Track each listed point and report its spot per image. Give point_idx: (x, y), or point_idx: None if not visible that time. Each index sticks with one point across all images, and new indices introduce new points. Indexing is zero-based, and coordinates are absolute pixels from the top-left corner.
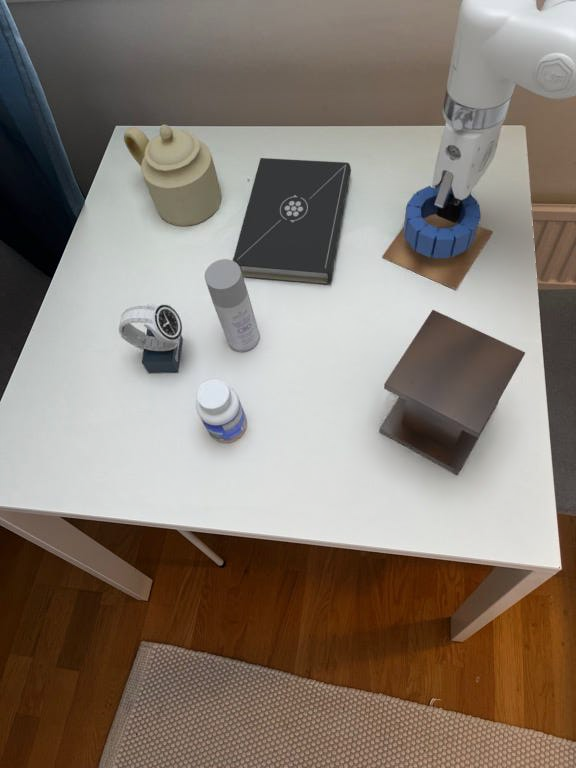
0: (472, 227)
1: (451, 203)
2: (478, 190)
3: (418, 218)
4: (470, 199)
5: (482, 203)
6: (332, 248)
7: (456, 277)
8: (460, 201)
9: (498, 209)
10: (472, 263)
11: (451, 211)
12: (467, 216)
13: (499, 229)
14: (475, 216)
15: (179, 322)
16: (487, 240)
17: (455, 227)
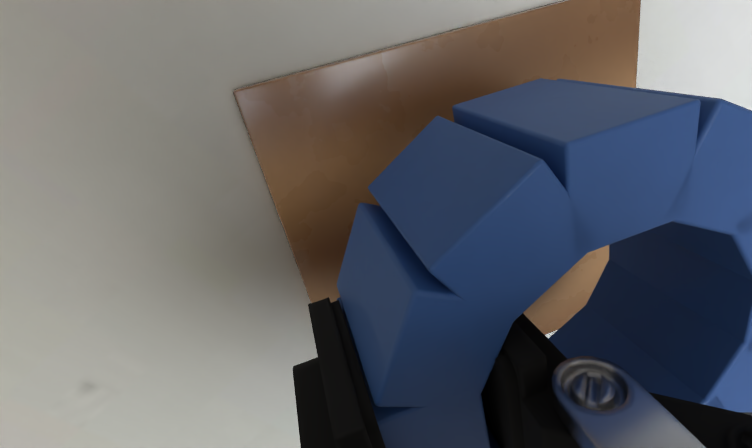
0: (681, 122)
1: (696, 409)
2: (79, 335)
3: (725, 397)
4: (433, 345)
5: (124, 266)
6: (745, 413)
7: (588, 27)
8: (526, 374)
9: (74, 184)
10: (480, 24)
11: (539, 332)
12: (597, 235)
13: (180, 78)
14: (565, 191)
15: None
16: (304, 71)
17: (721, 216)
